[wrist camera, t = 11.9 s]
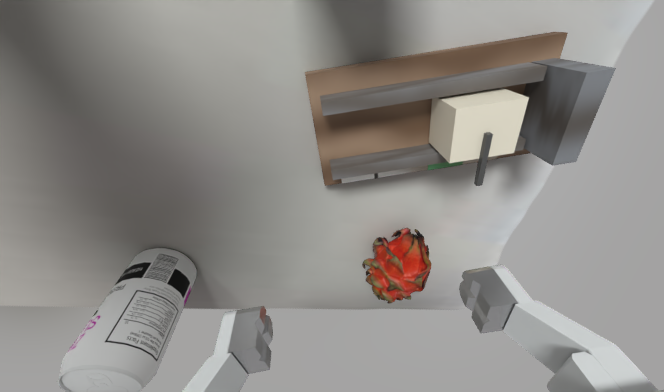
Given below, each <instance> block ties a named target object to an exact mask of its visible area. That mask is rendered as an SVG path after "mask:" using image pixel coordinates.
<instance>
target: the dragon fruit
mask: <svg viewBox="0 0 664 392" xmlns="http://www.w3.org/2000/svg"><path fill="white" fill-rule="evenodd" d="M415 232H416V233H417V235H418V236H417V235H414V234H411V232H410V229H408V228H405V229H402V230H399V231H396V232H395V233H394V234H393V236H394V235H395V234H396V235H395V236H397V235H399V234H400V233H401V235H400V237H398V238H396V239H394V240H392V241H391V242H389V243H388V241H387V240H386V238H380V237H379V238H377V239H376V240H375V242H374V243H373V245H374V246H373V248H374V249H373V252H374V253H375V258H374V259H366V260H365V261H364V262H363V268H365V264H366V265H368V266H370V267H371V268H370V269H368V270H367V271H366V275H368V274H370V275H369V276H367V278H366V281H367V282H368V283H369V284H370V285H373V287H372V289H373V292H374V294H375V295H376V296H377V297H378V299H379V300H380V298H381V300H386V301H388V303H392V302H394V301H395V299H397V300H403V298H405V299H411V296H410V294H411V293H412V292H415V291H422V290H423V289H424V287H425V283H426V281H427V278H428V276H429V273H430V269H431V262H430V260H429V249H428V246H427V247H426V246H425V243H424V237H423V236H422V234H420V232H419V231H418V230H416V229H415ZM393 236H392V237H393ZM426 251H427V252H426Z"/></svg>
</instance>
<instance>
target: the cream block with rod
mask: <svg viewBox="0 0 664 392" xmlns="http://www.w3.org/2000/svg"><path fill="white" fill-rule="evenodd" d="M528 100H529V97H526V96H523V95H521V94H518V93H515V92H512V91H510V90H507V89H504V88H495V89H488V90H482V91H476V92H470V93H463V94H457V95H451V96H445V97H439V98H432V106H431V119H430V133H429V143H430V144H431V145H432V146H433V147H434V148H435V149H436V150H437V151H438V152H439V153H440V154H441V155H442V156H443V157H444V158H445V159H446V160H447V161H448V162H449V163H454V162H461V161H467V160H473V159H479V161H478V166H477V171H476V177H475V182H474V184H475V185H476V186H480V185H482V183H483V178H484V174H485V169H486V164H487V160H488V157H492V156H498V155H505V154H511V153H514V151H515V147H516V144H517V140H518V136H519V133H520V129H521V125H522V122H523V118H524V114H525V111H526V107H527V103H528Z"/></svg>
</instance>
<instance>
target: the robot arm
mask: <svg viewBox="0 0 664 392" xmlns="http://www.w3.org/2000/svg"><path fill="white" fill-rule="evenodd" d="M462 278H463V279H464V281H462V282H461V283H460V288H459V290H460V295H461V298H462V300H463V302H464V304H465V306H466V307H467V308H469V309H470V310H472V319H473V321H474V322H475V324H476V326H477V328H478V329H479V331H480V333H487V332H494V331H501V330H503V332H504V333H505V334H506V335H508V336H509V337H510V338H511V339H513V340H514V341H515V342H516V343H518V344H519V345H520V346H521V347H523V348H524V349H525V350H526V351H528V352H529V353H530V354H531V355H533V356H534V357H535V358H536V359H538V360H539V361H540V362H541V363H543V364H544V365H545V366H546V367H548V368H549V369H550V370H551V371H553V372H554V373H555V375H554V376H553V377H552V378H551V380H550V381H549V382H548V384H547V388H548V390H549V391H550V392H664V390H661V391H658V389H657V388H656V387H655V386H654V385H653V384H652V383H651V382H650V381H649V380H648V379H647V378H646V377H645V375H644V374H643V373H642V372H641V371H640V370H639V369H638V368H637V367H636V366H635V365H634V364H633V363H632V362H631V360H629V358H628V357H627V356H626V355H625V354H624V353H623V352H622V351H621V350H620V349H619V348H618V347H617V346H616V345H615V344H613V343H611V342H610V341H608V340H606V339H604V338H603V337H601V336H599V335H597V334H596V333H594V332H592V331H590V330H589V329H587V328H585V327H583V326H581V325H580V324H578V323H576V322H574V321H573V320H571V319H569V318H567V317H566V316H564V315H562V314H560V313H559V312H557V311H555V310H553V309H552V308H550V307H548V306H546V305H544V304H543V303H541V302H539V301H538V300H536V301H533V300H532V299H531V297H530V296H529V295H528V294H527V293H526V291H525V290H524V289H523V287H522V286H521V285H520V284H519V282H518V281H517V280H516V279H515V277H514V276H513V275H512V274H511V273H510V271H509V270H508V269H507V267H505V266H504V265H496V266H490V267H483V268H478V269H473V270H468V271H464V272H463V274H462ZM272 335H273V329H272V322H271V319H270V317H269V316H267V315H266V309H265V307H264V306H260V307H254V308H248V309H242V310H235V311H230V312H225V314H224V316H223V318H222V322H221V326H220V330H219V334H218V338H217V342H216V346H215V350H214V354H213V356H210V357H209V358H208V359H207V360H206V361H205V363H204V364H203V365H202V366H201V368H200V369H199V370H198V372H197V373H196V374H195V375H194V377H193V378H192V379H191V381H190V382H189V383H188V384H187V386H186V387H185V388H184V389H183V391H182V392H240V390H241V388H242V386H243V385H244V383H245V381H246V379H247V377H248V374H250V373H256V372H261V371H266V370H269V369H270V361H271V350H270V348H269V347H268V345H269V344H270V342H271V341H272Z"/></svg>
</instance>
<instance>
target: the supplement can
mask: <svg viewBox="0 0 664 392" xmlns="http://www.w3.org/2000/svg"><path fill="white" fill-rule="evenodd" d="M196 276H197V270H196V268H195V266H194V264H193V263H192V261H191V260H190V259H189V258H188V257H187V256H186V255H184V254H182V253H180V252H178V251H176V250H172V249H168V248H155V249H149V250H145V251H142V252H141V253H139V254H138V255H136V256H135V257H134V259H133V260H132V262H131V263H130V265H129V266H128V267H127V269H126V270H125V272H124V273H123V274H122V276H121V277H120V279H119V280H118V282H117V283H116V284H115V286H114V287H113V289H112V290H111V291H110V293H109V294H108V296H107V297H106V298H105V300H104V301H103V303H102V304H101V306H100V307H99V308H98V310H97V311H96V313H95V314H94V315H93V317H92V318H91V320H90V321H89V323H88V324H87V325H86V327H85V328H84V330H83V331H82V332H81V334H80V335H79V337H78V338H77V339H76V341H75V342H74V344H73V345H72V347H71V348H70V349H69V351H68V352H67V354H66V355H65V356H64V359H63V361H62V363H61V372H60V377H59V379H58V381H57V383H58V385H59V386H60V388H61V389H63V390H64V391H65V392H141V391H142V389H143V388H144V387H145V386H146V385H147V384H148V383H149V382H150V381H151V380H152V378H153V377H154V376H155V375H156V373H157V370H158V368H159V365H160V363H161V361H162V358H163V356H164V353H165V351H166V349H167V346H168V344H169V341H170V339H171V337H172V334H173V332H174V330H175V327H176V324H177V322H178V320H179V317H180V315H181V313H182V310H183V308H184V306H185V303H186V301H187V298H188V296H189V294H190V291H191V289H192V286H193V284H194V282H195V279H196Z"/></svg>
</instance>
